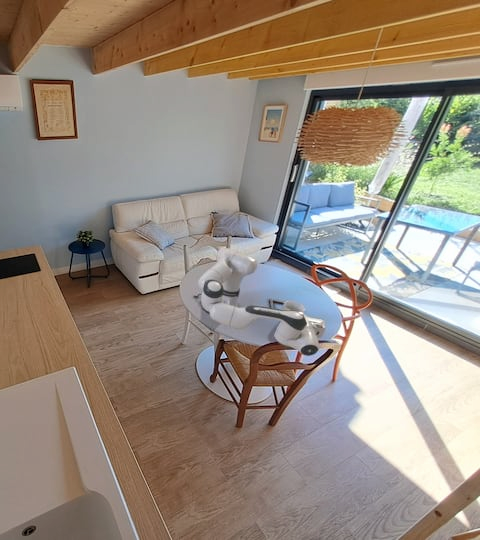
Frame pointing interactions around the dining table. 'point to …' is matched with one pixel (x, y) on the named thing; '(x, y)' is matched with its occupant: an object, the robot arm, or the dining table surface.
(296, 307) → the mug
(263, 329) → the dining table surface
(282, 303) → the bay rails
